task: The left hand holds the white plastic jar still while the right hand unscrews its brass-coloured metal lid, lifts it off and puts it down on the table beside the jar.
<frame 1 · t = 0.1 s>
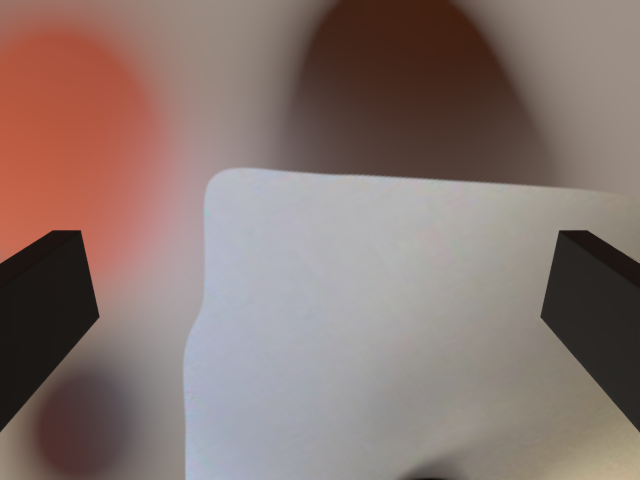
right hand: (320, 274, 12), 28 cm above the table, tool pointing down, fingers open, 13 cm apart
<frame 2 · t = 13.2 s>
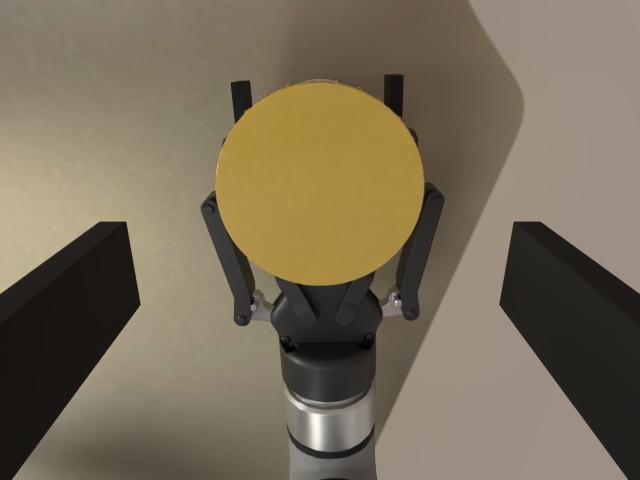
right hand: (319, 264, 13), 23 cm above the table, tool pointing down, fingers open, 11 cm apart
left hand: (316, 78, 27), fingers closed on jar, 9 cm apart
lid: (319, 191, 20), point 15 cm above the table, screwed on, not yet turned
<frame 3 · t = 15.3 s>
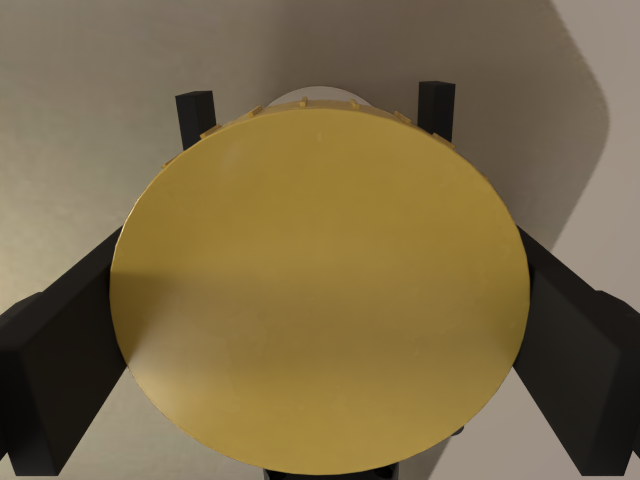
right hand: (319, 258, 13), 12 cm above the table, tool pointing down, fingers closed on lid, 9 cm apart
jar: (319, 168, 25), on the table, touching left hand
lid: (319, 316, 10), point 15 cm above the table, screwed on, not yet turned, touching right hand
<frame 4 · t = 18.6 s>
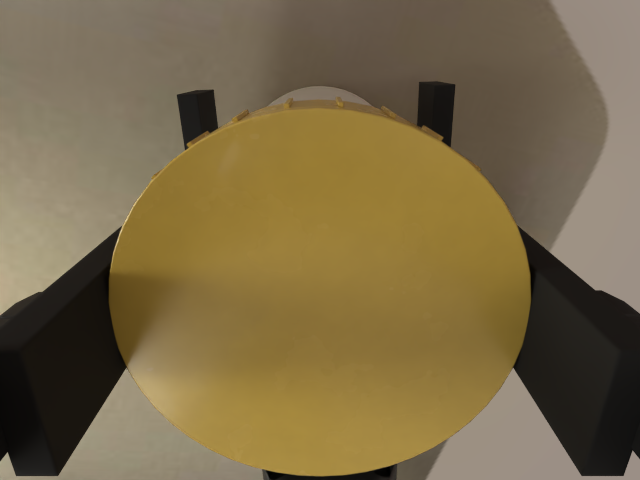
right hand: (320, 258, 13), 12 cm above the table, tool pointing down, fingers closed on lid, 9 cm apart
jar: (319, 168, 25), on the table, touching left hand
lid: (319, 316, 10), point 16 cm above the table, turned 107° so far, risen 0.2 cm, still on its thread, touching right hand
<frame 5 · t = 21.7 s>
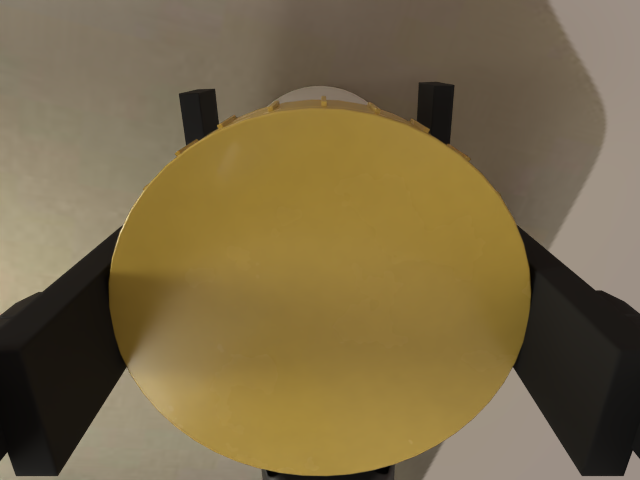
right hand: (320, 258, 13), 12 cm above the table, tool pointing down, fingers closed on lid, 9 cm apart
jar: (319, 167, 25), on the table, touching left hand
lid: (319, 316, 10), point 16 cm above the table, turned 214° so far, risen 0.3 cm, still on its thread, touching right hand
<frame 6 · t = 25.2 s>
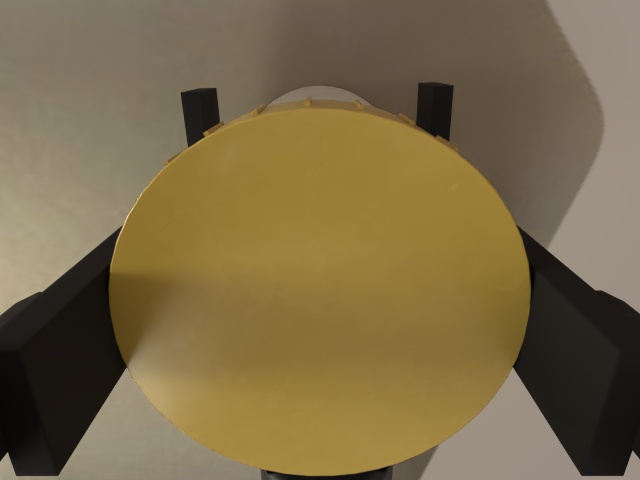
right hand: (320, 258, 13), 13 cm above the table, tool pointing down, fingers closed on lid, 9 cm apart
jar: (319, 166, 25), on the table, touching left hand
lid: (319, 316, 10), point 16 cm above the table, turned 321° so far, risen 0.5 cm, still on its thread, touching right hand
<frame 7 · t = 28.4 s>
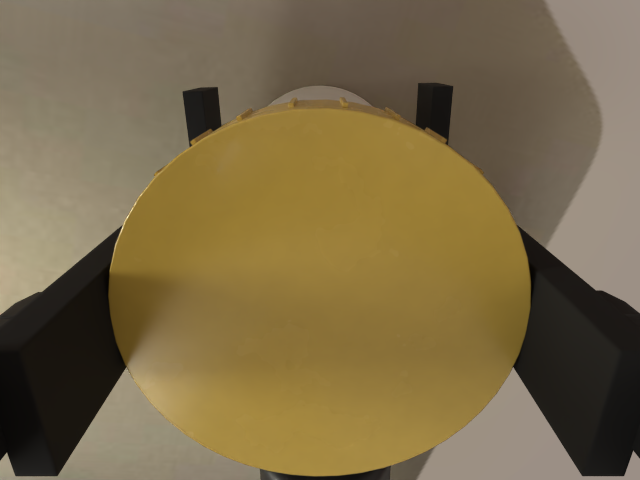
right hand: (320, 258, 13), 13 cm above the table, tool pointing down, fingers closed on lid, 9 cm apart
jar: (319, 166, 25), on the table, touching left hand
lid: (319, 317, 10), point 16 cm above the table, turned 428° so far, risen 0.7 cm, still on its thread, touching right hand
when the right hand's fingers open (0 cm above the table, at t = 34.7 s): lid drops 2 cm, point 2 cm above the table.
when the left hand's fingers open (6 cm above the table, at t = 35.8 s): jar stays where it is, on the table.
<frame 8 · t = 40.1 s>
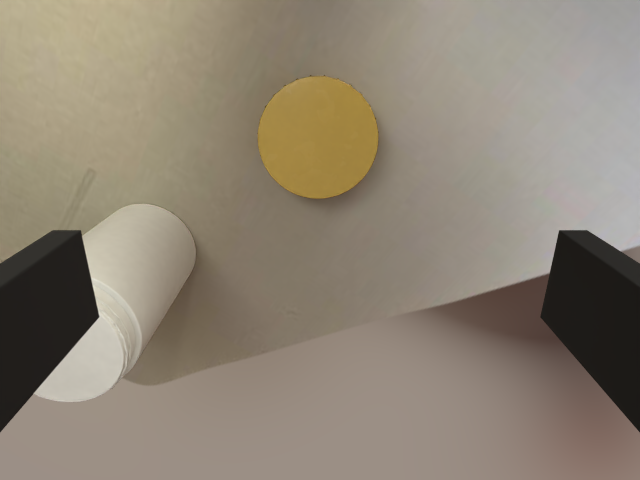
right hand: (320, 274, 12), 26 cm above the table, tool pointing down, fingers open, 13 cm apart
jar: (148, 248, 41), on the table
lid: (318, 140, 35), point 2 cm above the table, off its thread
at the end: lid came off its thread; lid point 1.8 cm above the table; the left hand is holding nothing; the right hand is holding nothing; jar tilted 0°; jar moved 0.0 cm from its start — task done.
